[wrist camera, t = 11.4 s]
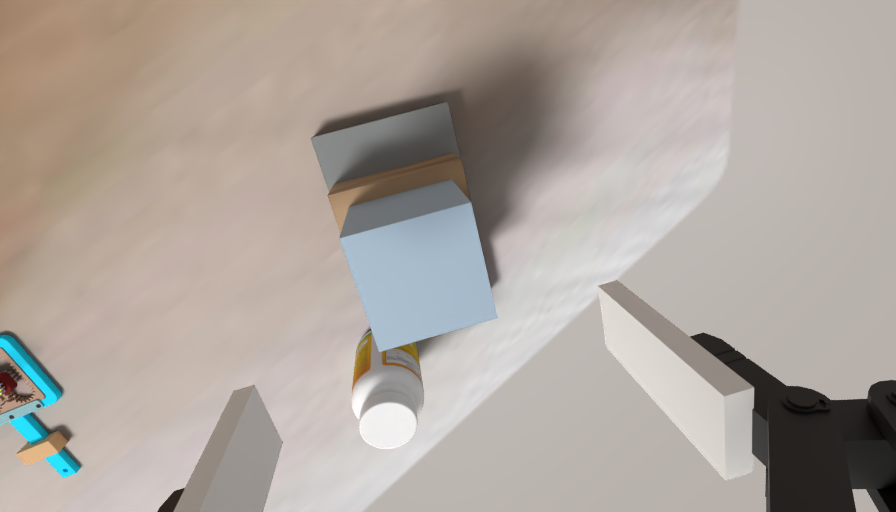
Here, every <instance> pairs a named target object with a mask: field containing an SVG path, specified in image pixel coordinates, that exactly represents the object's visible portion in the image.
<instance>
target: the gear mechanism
mask: <svg viewBox="0 0 896 512" xmlns="http://www.w3.org/2000/svg"><path fill="white" fill-rule="evenodd" d="M2 357H4V359H3V360H8V361H7V363H11V364H10V366H14V367H13V369H17V370H16V371H15V372H19V374H18V375H22V377H21V378H25V380H24V382H25V381H28V383H27V385H28V384H30V386H29V387H30V388H31V387H33V388H32V389H31V390H32V391H33V392H32V394H33V395H32V396H31V397H27V398H25V397H22V398H21V396H18V397H17V394H13V393H14V391H12V390H13V389H14V388H16V387H17V382H18V381H19V380H18V379H17V378H18V376H15V374H16V373H13V374H12V371H9V372H7V371H6V370H5V371H3V372H2V371H1V372H0V402H2V401H4V403H3V404H1V405H0V407H1V408H0V425H2V424H5V423H7V422H10V423H11V424H12V425H13V426H14V427H15V428H16V429H17V430H18V431H19V432H20V433H21V434H22V435H23V436H24V437H25V438H26V439H27V440H28V441H29V443H27V444H26V445H25V446H24V447H23V448H22V449H21V450H20V451H19V452H18V453H17V454H16V455H17V456H18V457H19V458H20V459H21V460H22V461H23V462H24V463H25V464H26V465H29V464H32V463H34V462H37V461H39V460H42V459H44V458H45V459H46V460H47V461H48V462H49V463H50V464H51V465H52V466H53V467H54V468H55V469H56V470H57V472H58V473H59V474H60V475H61V476H62V477H63V478H65V477H68V476H70V475H72V474H75V473H77V471H78V470H79V469H80V467H79V466H78V465H77V464H76V463H75V462H74V461H73V459H72V458H71V457H70V456H69V455H68V454H67V453H66V452H65V451H64V450H63V449H62V448H63V447H64V446H65V445H66V444H67V443H68V441H67V440H66V439H65V438H64V436H63V435H62V434H61V433H60V432H59V431H56V432H54V433H51V434H48V433H47V432H46V431H45V430H44V429H43V427H42V426H41V425H40V424H39V423H38V422H37V421H36V420H35V419H34V418H33V417H32V416H31V415H30V414H29V413H31V412H34V411H36V410H39V409H41V408H44V407H46V406H48V405H51V404H53V403H55V402H56V401H57V400H58V399H59V398H60V397H61V391H60V390H59V389H58V388H57V387H56V385H55V384H54V383H53V382H52V381H51V380H50V379H49V377H48V376H47V375H46V374H45V373H44V372H43V371H42V370H41V368H40V367H39V366H38V365H37V364H36V363H35V362H34V360H33V359H32V358H31V357H30V356H29V355H28V354H27V353H26V351H25V350H24V349H23V348H22V347H21V346H20V345H19V343H18V342H17V341H16V340H15V339H14V338H13V337H11V336H9V335H0V358H2ZM10 391H11V392H10Z"/></svg>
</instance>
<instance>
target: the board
mask: <svg viewBox="0 0 896 512" xmlns="http://www.w3.org/2000/svg"><path fill="white" fill-rule="evenodd" d="M311 141H312V144H313V147H314V150H315V152H316V155H317V158H318V161H319V164H320V167H321V170H322V173H323V176H324V179H325V181H326V184H327V187H328V190H329V192H330V190H331V189H332V187H333V185H334V184H337V183H341V182H344V181H348V180H352V179H356V178H359V177H363V176H367V175H371V174H374V173H378V172H382V171H385V170H389V169H393V168H397V167H400V166H404V165H408V164H412V163H415V162H419V161H423V160H427V159H430V158H434V157H438V156H442V155H445V154H449V153H454V154H455V155H456V156H457V157H459V158H460V159H461V157H460V153H459V149H458V144H457V140H456V135H455V131H454V127H453V122H452V118H451V114H450V109H449V105H448V102H443V103H439V104H435V105H432V106H428V107H424V108H420V109H416V110H412V111H409V112H405V113H401V114H397V115H393V116H390V117H386V118H382V119H378V120H374V121H370V122H367V123H363V124H359V125H355V126H351V127H348V128H344V129H340V130H336V131H332V132H328V133H325V134H321V135H317V136H313V137H312V138H311Z"/></svg>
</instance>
